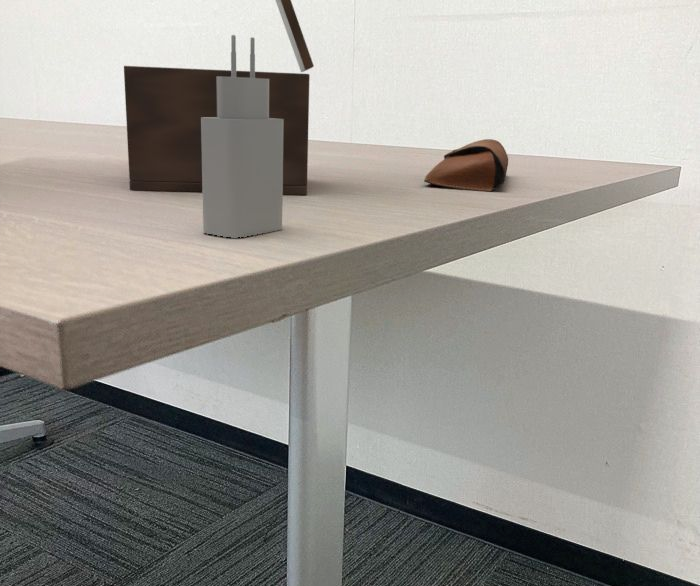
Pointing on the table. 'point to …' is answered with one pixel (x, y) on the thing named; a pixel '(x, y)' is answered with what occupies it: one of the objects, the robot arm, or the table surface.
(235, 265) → the table surface
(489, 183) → the sunglasses case
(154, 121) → the chest
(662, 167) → the table surface
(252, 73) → the power adapter
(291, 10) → the lid
